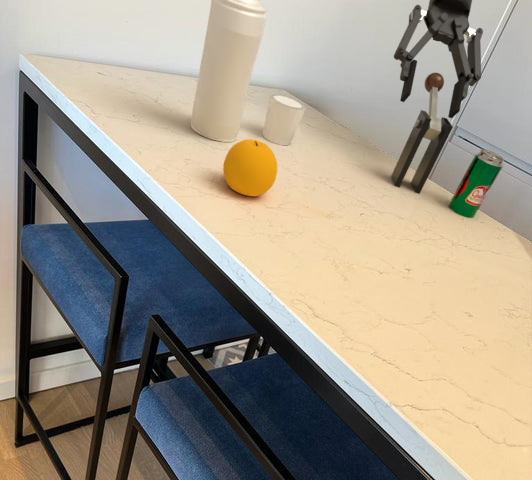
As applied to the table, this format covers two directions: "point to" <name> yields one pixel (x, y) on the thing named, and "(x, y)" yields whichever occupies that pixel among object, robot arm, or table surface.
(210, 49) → the spray can
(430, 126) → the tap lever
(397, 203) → the table surface
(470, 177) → the soda can
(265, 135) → the white cylinder
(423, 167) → the dark brown parallel bars
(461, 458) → the table surface
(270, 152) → the orange fruit
